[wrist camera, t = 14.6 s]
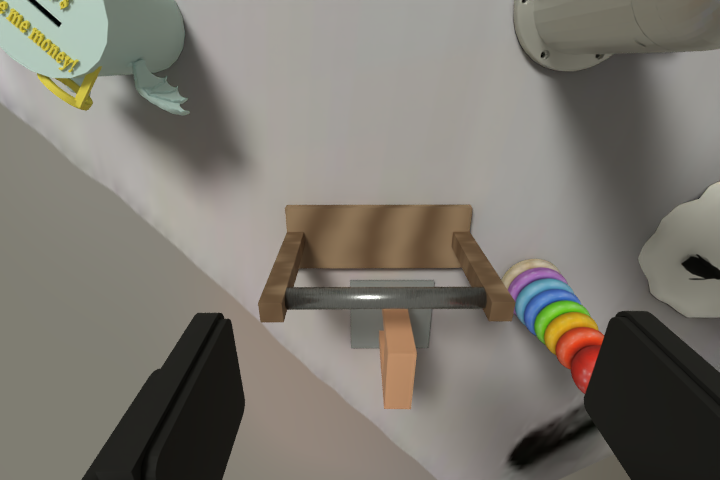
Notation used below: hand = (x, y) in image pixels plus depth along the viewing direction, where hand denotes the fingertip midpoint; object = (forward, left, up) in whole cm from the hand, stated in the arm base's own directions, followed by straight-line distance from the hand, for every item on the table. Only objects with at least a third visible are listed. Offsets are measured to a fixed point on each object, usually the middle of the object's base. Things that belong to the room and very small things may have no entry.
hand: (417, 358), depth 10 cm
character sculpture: (+24, -9, -36) cm, 45 cm away
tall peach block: (-3, +25, -36) cm, 44 cm away
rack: (-1, +13, -36) cm, 39 cm away
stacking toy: (-21, +20, -36) cm, 47 cm away
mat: (-3, +25, -36) cm, 44 cm away
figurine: (-45, +15, -37) cm, 60 cm away
